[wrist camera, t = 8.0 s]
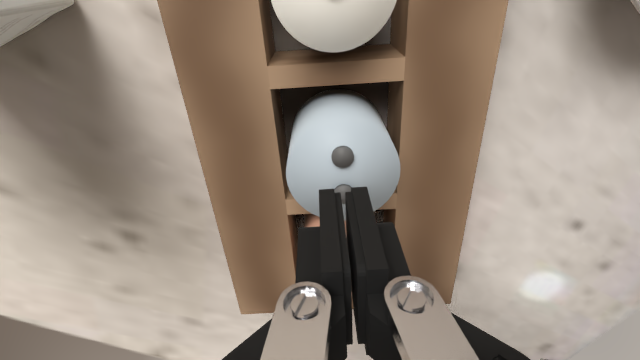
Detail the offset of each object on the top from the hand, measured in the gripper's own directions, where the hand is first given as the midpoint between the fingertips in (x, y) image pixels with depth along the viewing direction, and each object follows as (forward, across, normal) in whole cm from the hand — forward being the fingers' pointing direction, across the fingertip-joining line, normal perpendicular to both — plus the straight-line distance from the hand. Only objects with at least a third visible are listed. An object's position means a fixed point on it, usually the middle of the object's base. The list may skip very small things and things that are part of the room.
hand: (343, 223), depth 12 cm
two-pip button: (+7, 0, 0) cm, 7 cm away
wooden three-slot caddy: (+9, 0, 0) cm, 9 cm away
